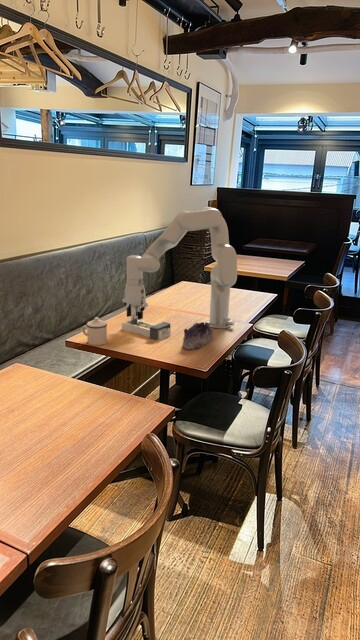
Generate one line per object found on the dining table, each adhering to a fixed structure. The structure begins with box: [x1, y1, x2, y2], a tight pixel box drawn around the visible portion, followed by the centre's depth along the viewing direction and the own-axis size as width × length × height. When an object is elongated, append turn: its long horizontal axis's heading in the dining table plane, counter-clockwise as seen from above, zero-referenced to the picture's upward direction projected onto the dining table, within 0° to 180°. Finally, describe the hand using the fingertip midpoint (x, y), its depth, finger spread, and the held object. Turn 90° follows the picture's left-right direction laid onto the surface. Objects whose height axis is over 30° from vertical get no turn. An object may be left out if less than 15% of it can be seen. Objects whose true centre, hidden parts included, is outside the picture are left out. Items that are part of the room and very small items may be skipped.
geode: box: [181, 321, 214, 352], centre depth 205 cm, size 20×12×10 cm, turn 155°
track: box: [121, 319, 171, 341], centre depth 218 cm, size 24×10×6 cm, turn 54°
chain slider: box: [126, 305, 147, 328], centre depth 220 cm, size 10×5×10 cm, turn 54°
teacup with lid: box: [81, 316, 108, 346], centre depth 203 cm, size 12×9×12 cm
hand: (134, 317), depth 221 cm, fingers open, 6 cm apart
